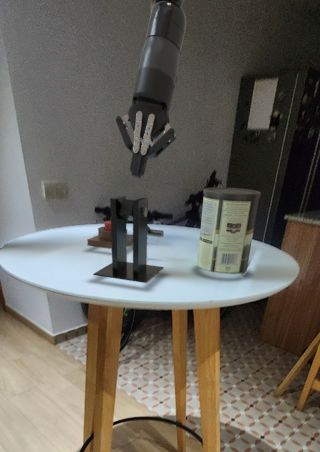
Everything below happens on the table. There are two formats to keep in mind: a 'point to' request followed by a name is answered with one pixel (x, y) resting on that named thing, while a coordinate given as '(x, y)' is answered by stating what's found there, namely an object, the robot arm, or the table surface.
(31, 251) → the table surface
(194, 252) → the table surface
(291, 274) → the table surface
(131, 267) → the bracket
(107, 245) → the block
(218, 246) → the coffee can
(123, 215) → the lever
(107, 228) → the button
